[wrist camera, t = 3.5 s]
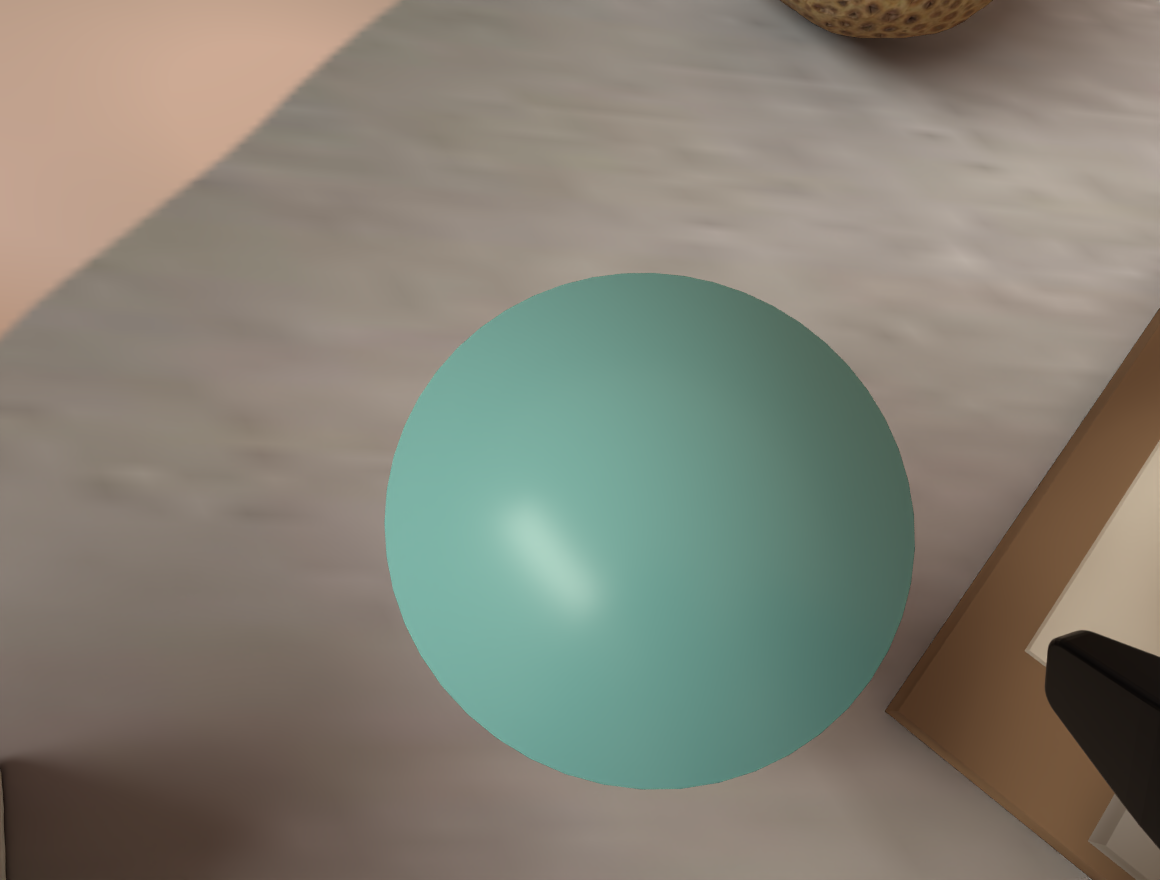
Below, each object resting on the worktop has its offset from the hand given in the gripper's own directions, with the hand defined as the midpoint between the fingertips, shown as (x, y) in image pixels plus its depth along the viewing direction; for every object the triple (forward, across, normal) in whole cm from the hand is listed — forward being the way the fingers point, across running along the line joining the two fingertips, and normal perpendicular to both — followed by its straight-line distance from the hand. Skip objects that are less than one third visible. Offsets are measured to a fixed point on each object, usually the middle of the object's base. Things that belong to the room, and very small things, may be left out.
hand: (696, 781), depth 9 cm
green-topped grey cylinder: (+8, 0, +5) cm, 10 cm away
